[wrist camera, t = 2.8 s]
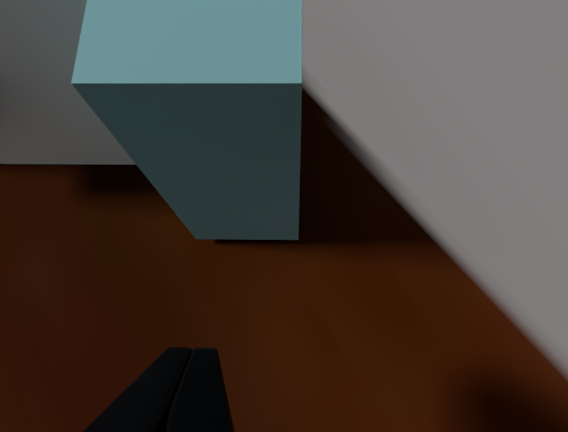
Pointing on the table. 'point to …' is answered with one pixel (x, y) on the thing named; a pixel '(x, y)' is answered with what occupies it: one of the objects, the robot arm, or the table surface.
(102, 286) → the table surface
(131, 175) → the table surface
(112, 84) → the side door
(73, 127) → the camera body
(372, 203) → the table surface
